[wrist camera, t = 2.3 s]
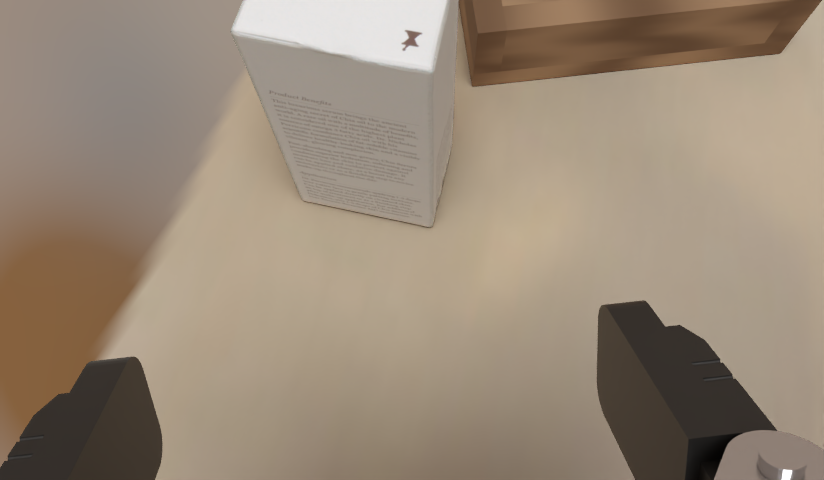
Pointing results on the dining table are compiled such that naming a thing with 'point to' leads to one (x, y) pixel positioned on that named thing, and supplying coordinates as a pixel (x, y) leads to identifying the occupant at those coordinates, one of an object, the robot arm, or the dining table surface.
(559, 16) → the tray
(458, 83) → the dining table surface
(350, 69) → the skincare box
